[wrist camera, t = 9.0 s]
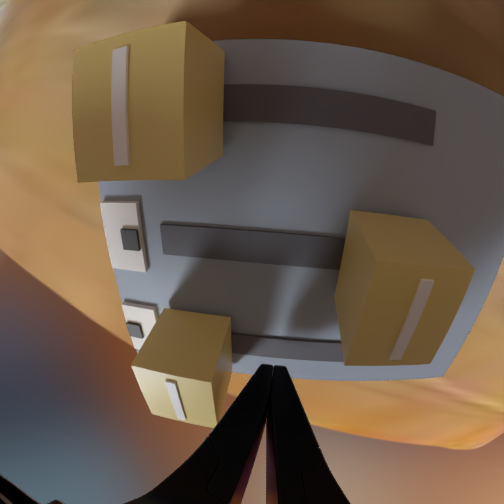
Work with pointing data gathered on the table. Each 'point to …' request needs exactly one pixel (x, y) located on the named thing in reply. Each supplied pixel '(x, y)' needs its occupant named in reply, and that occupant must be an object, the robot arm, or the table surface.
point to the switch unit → (311, 201)
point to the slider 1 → (148, 105)
